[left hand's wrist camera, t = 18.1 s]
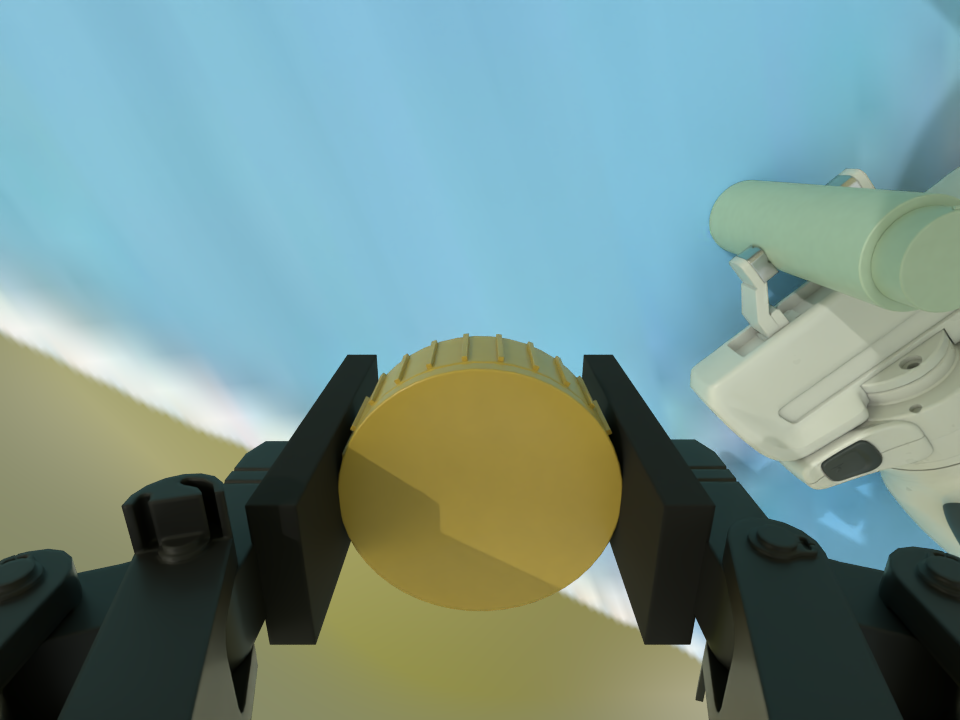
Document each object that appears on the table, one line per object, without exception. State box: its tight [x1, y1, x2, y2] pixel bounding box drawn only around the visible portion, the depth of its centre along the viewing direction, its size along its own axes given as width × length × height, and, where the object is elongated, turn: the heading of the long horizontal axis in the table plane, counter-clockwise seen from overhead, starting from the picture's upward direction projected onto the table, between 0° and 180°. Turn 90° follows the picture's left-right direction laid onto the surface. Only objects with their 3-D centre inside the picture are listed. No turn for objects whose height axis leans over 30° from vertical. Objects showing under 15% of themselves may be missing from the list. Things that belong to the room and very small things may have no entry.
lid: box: [338, 334, 623, 611], centre depth 11 cm, size 6×6×2 cm
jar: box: [709, 180, 960, 313], centre depth 28 cm, size 5×5×17 cm
